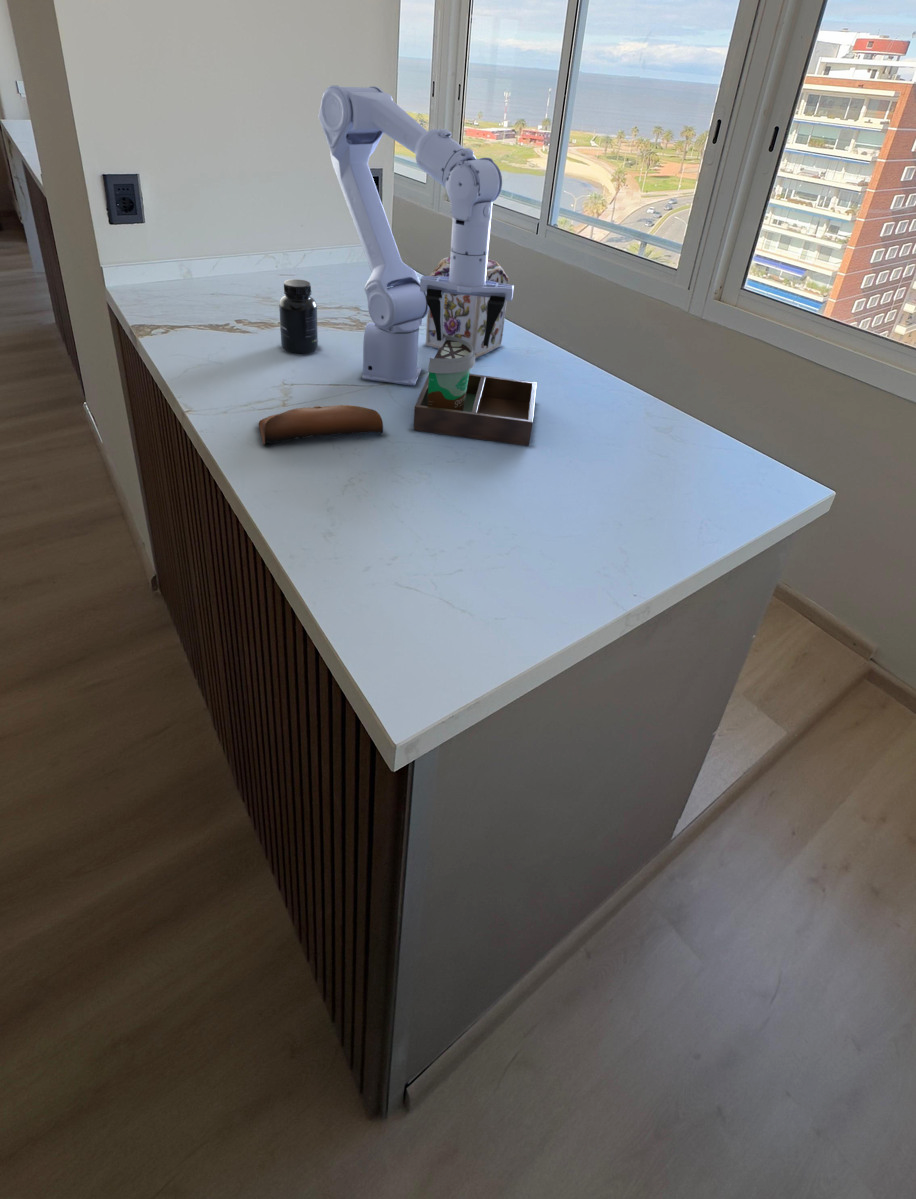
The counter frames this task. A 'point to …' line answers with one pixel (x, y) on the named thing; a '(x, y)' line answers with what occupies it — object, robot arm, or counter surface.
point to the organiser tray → (483, 411)
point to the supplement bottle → (298, 318)
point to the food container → (450, 374)
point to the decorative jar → (468, 313)
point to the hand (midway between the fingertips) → (463, 341)
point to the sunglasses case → (319, 422)
